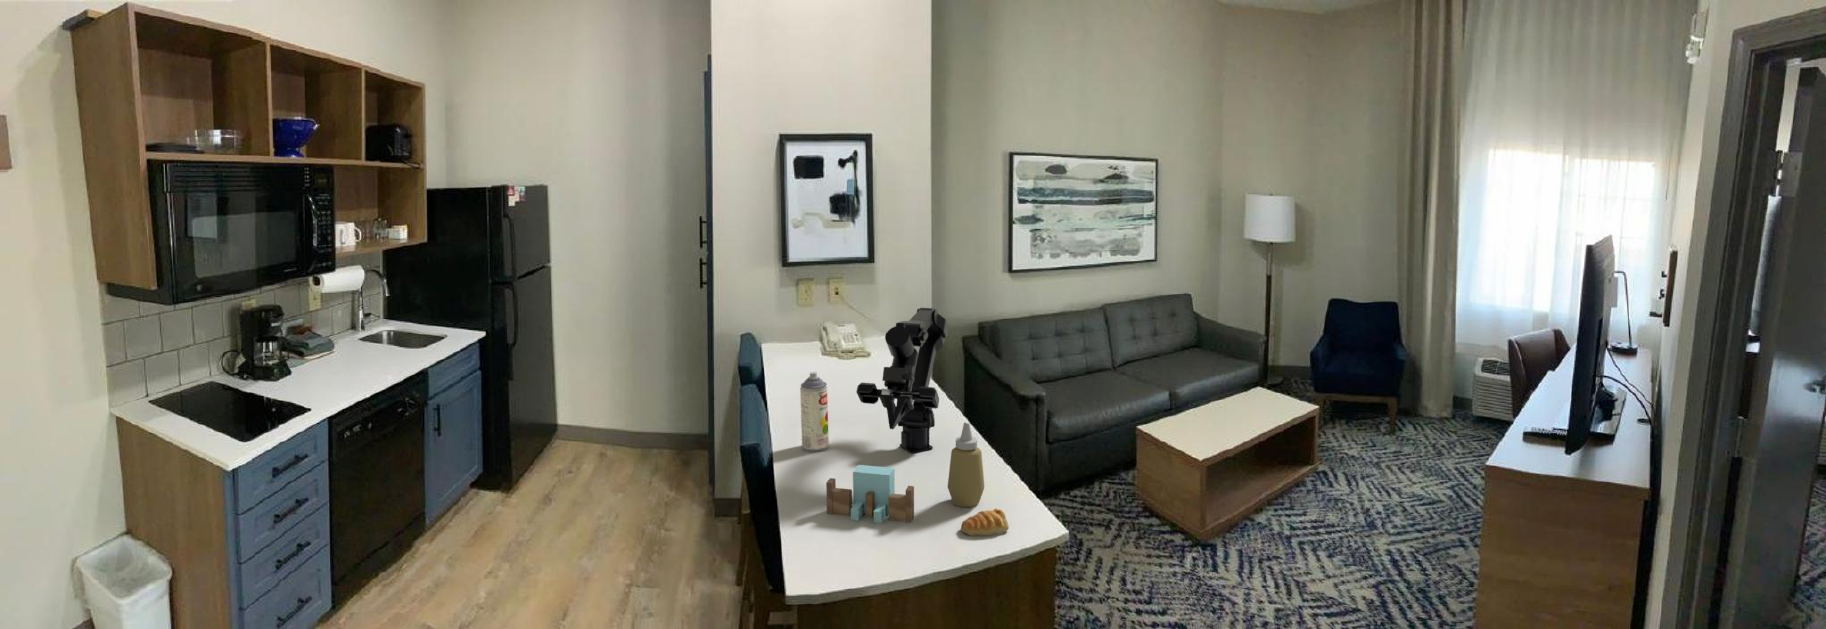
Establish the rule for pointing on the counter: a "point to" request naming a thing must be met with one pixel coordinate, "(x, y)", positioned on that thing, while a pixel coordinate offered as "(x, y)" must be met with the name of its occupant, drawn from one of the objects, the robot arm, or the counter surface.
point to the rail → (870, 502)
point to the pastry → (986, 523)
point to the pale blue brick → (875, 481)
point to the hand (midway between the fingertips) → (891, 428)
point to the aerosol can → (814, 414)
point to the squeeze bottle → (966, 470)
